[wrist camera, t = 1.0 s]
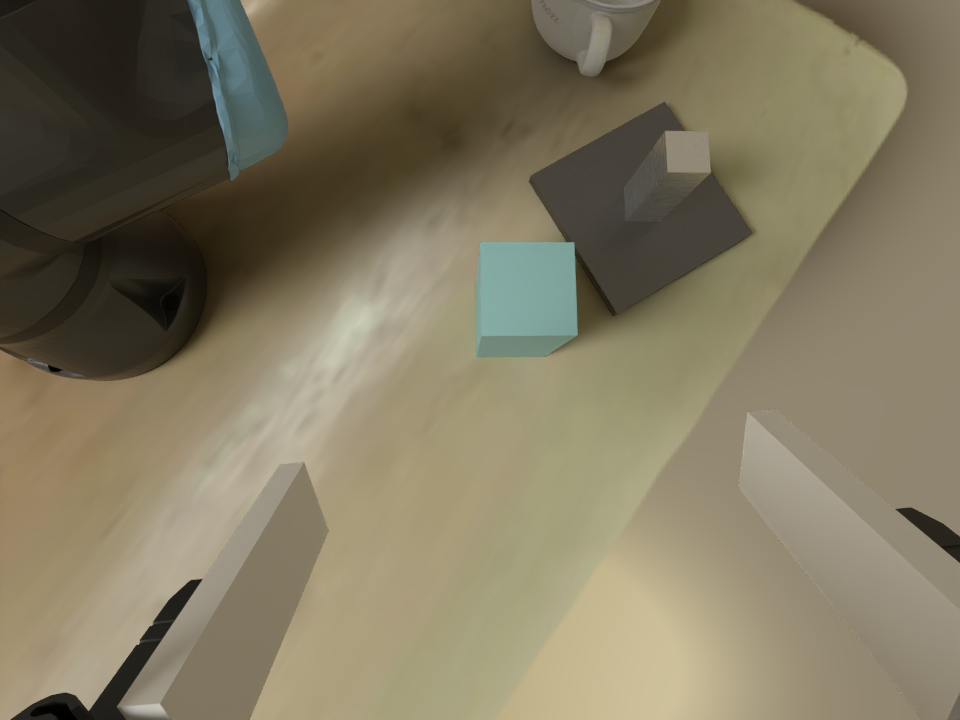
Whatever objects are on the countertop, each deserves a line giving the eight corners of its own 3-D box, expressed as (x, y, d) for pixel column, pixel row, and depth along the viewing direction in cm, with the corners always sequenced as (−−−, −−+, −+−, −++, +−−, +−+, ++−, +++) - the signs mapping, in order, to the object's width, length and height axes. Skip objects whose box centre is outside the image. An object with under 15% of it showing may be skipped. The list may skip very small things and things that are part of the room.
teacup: (545, -37, 42) (564, -142, 34) (655, -2, 42) (699, -98, 34) (501, 93, 40) (510, 16, 32) (615, 130, 40) (653, 61, 32)
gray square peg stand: (529, 181, 39) (548, 115, 31) (659, 109, 41) (714, 24, 32) (613, 316, 38) (658, 288, 29) (745, 237, 40) (827, 188, 31)
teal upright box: (476, 357, 38) (481, 336, 27) (475, 289, 38) (480, 242, 27) (544, 356, 38) (577, 335, 27) (543, 289, 38) (574, 242, 28)
